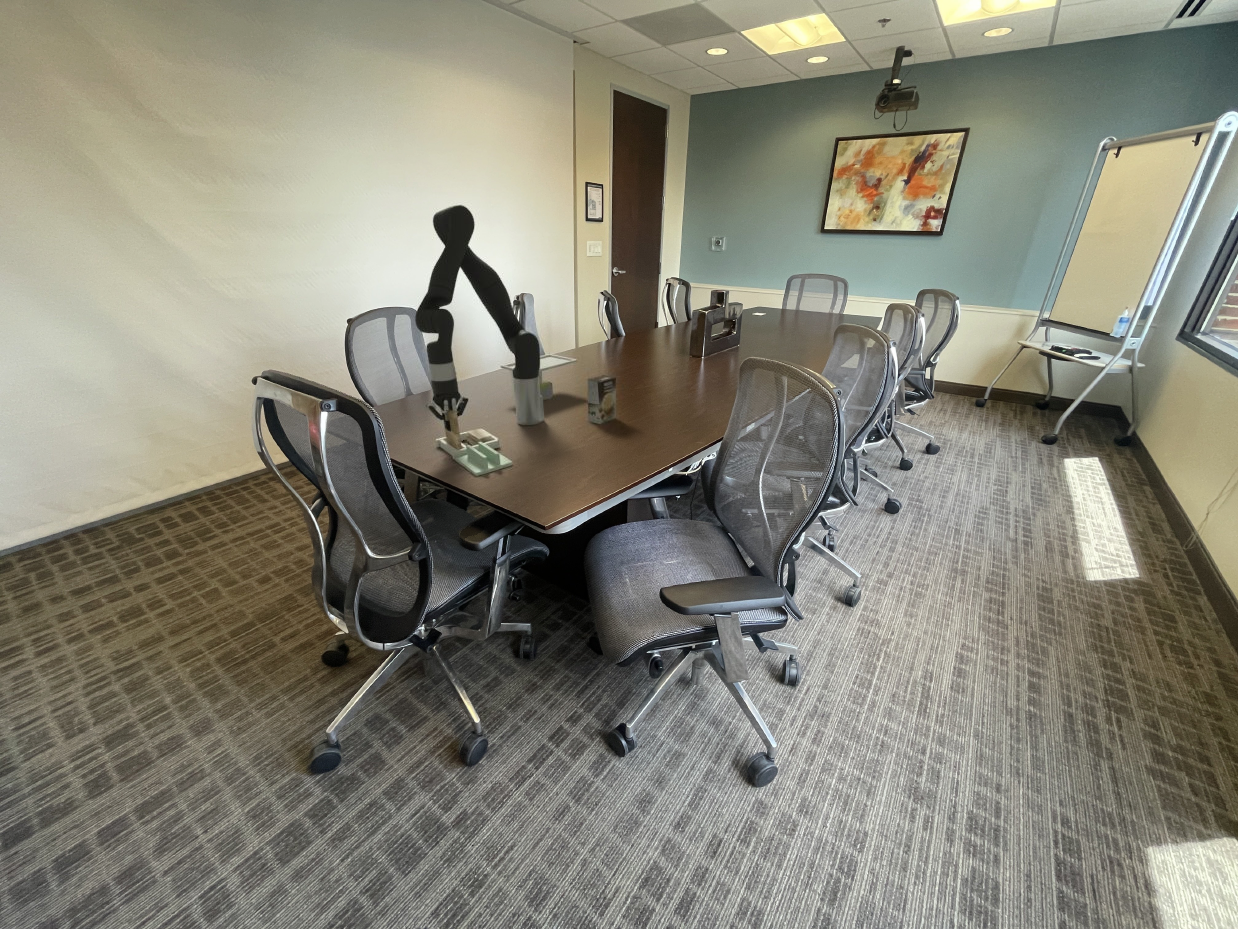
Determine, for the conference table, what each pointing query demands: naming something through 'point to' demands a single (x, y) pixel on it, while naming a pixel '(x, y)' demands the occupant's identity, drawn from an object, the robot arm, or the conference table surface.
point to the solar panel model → (545, 364)
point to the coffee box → (601, 399)
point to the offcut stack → (478, 437)
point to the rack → (463, 451)
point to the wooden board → (453, 431)
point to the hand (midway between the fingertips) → (451, 429)
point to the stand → (483, 460)
